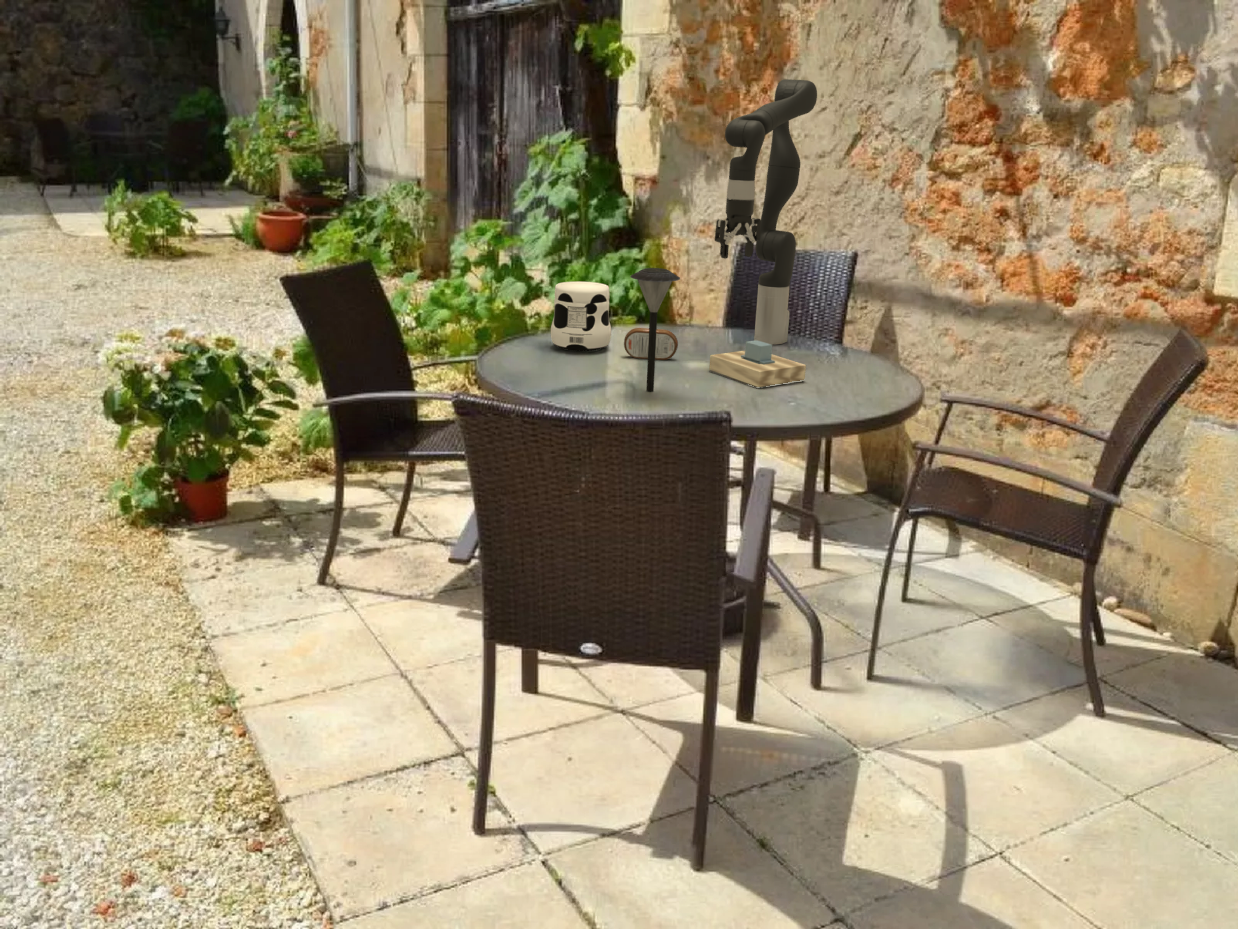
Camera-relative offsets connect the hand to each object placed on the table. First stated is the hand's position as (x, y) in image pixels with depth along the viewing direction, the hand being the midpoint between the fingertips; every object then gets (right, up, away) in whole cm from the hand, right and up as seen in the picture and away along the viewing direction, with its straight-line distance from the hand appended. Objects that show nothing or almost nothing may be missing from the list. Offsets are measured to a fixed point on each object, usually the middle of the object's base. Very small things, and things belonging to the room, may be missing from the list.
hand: (736, 257), depth 297 cm
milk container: (-43, -24, +13) cm, 51 cm away
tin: (-24, -28, +4) cm, 37 cm away
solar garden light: (-25, -39, -29) cm, 54 cm away
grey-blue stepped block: (+4, -33, -12) cm, 35 cm away
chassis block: (+4, -34, -11) cm, 36 cm away
